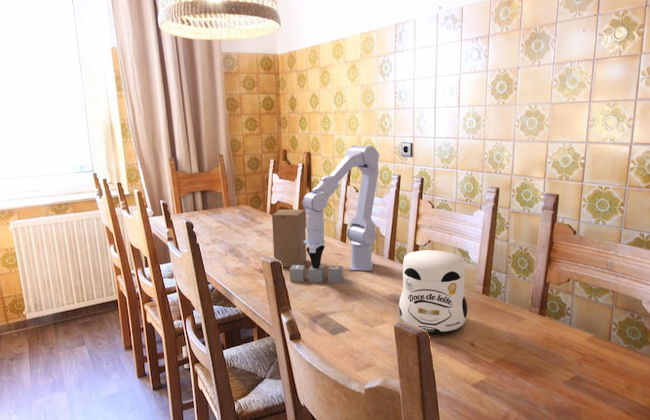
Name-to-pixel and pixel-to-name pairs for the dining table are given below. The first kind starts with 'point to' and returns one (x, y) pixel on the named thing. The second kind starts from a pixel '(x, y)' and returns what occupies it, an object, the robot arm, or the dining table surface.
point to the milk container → (433, 291)
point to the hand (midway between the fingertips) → (316, 267)
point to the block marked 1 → (297, 273)
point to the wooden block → (289, 237)
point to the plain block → (316, 274)
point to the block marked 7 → (335, 274)
